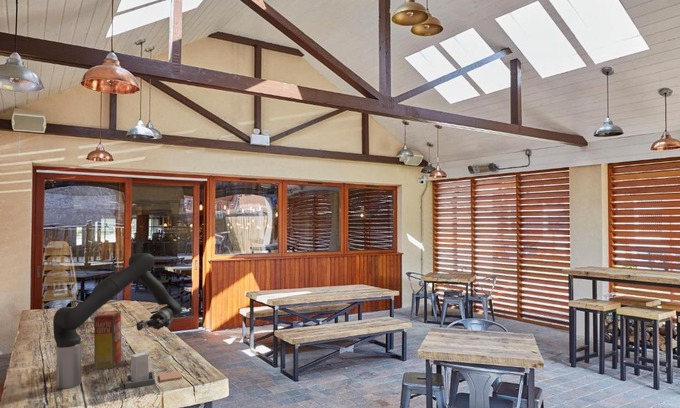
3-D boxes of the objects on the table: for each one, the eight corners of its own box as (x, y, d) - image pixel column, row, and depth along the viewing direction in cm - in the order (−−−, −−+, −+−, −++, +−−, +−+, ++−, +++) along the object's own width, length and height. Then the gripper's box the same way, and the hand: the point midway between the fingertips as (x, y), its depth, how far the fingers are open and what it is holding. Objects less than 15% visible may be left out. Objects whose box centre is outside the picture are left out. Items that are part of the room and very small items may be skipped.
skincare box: (144, 379, 209) (143, 351, 209) (149, 381, 206) (148, 353, 207) (130, 383, 204) (130, 355, 205) (135, 385, 202) (135, 356, 202)
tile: (160, 382, 205) (160, 380, 205) (159, 375, 213) (159, 374, 213) (182, 378, 208) (182, 376, 208) (180, 372, 216) (180, 370, 216)
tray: (125, 388, 198) (125, 383, 198) (125, 380, 209) (125, 375, 209) (154, 383, 202) (154, 379, 203) (153, 375, 213) (153, 371, 213)
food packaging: (114, 368, 226) (113, 315, 227) (93, 369, 225) (92, 316, 225) (122, 359, 239) (121, 310, 240) (102, 361, 238) (101, 311, 238)
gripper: (145, 312, 233) (131, 320, 216) (174, 310, 233) (163, 319, 217) (145, 327, 233) (132, 337, 216) (175, 325, 233) (164, 335, 217)
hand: (148, 328), depth 217 cm, fingers open, 8 cm apart
